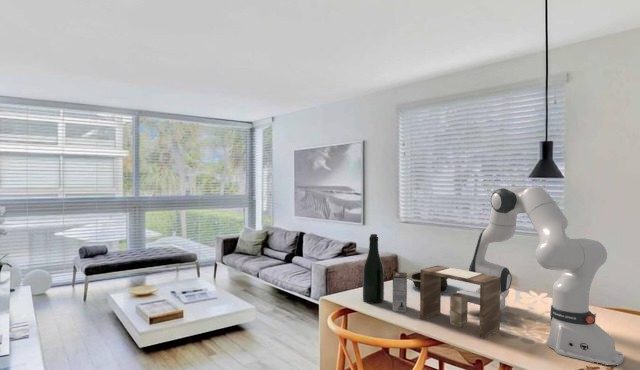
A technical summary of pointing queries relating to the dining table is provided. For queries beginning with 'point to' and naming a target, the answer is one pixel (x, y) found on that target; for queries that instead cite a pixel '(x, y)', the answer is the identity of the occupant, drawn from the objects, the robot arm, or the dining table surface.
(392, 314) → the dining table surface
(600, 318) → the dining table surface
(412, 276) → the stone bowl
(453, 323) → the maple block
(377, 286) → the green wine bottle
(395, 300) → the coffee box
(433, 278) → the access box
